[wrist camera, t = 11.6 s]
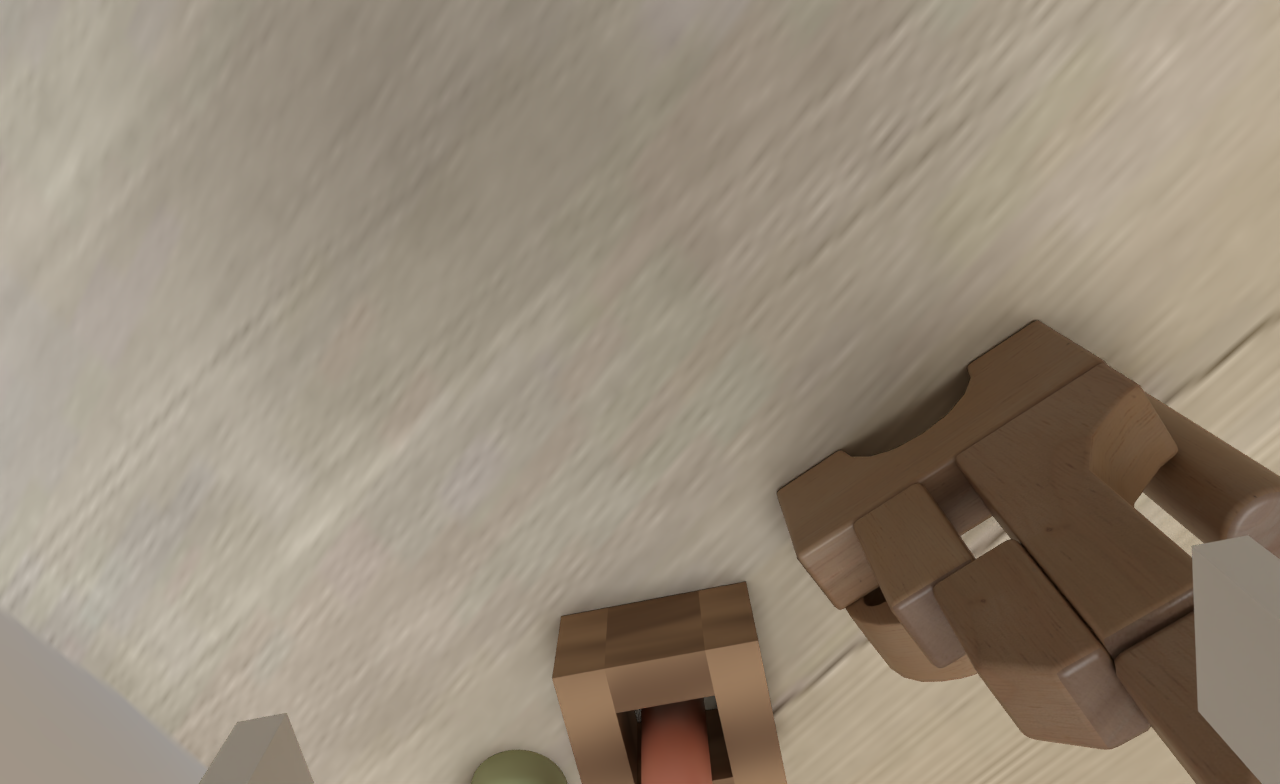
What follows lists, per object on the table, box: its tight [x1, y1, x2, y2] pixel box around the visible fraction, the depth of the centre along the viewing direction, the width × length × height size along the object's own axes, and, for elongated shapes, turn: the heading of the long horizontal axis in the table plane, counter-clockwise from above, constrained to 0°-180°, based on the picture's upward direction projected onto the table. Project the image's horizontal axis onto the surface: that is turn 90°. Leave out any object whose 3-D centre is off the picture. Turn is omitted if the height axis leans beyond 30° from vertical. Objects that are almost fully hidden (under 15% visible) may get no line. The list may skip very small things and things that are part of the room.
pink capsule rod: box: [641, 697, 712, 784], centre depth 41 cm, size 3×3×14 cm
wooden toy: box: [777, 321, 1280, 784], centre depth 32 cm, size 16×7×25 cm, turn 127°
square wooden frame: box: [552, 582, 787, 784], centre depth 45 cm, size 9×9×5 cm
